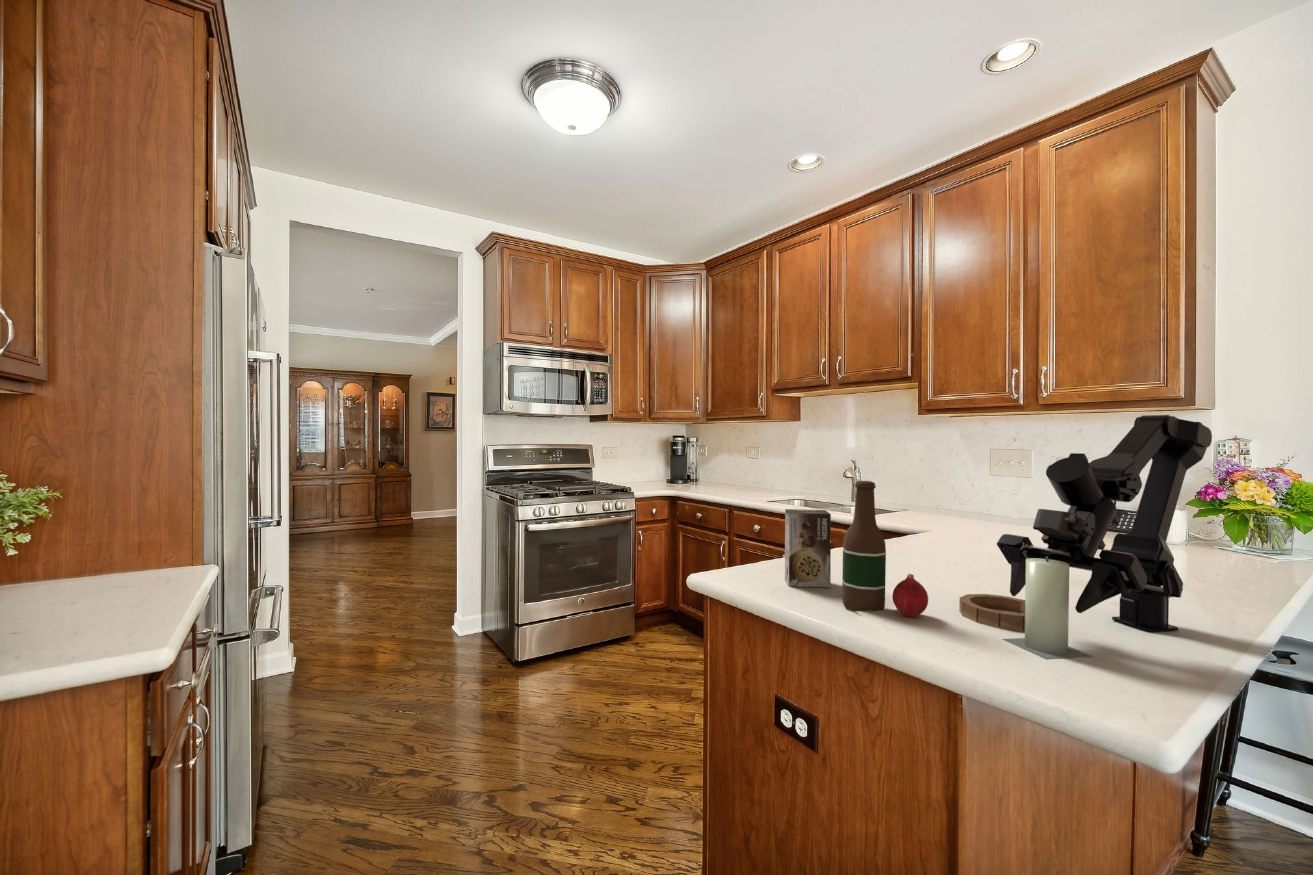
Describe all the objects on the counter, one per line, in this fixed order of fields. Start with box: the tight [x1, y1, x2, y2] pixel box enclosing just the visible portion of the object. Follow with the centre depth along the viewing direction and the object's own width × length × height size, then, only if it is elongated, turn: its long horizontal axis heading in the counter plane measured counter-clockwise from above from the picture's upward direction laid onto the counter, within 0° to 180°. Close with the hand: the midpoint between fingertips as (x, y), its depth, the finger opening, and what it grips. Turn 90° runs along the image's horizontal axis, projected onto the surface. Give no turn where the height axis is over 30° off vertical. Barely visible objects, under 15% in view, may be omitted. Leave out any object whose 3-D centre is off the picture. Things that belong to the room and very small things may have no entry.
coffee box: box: [784, 508, 832, 588], centre depth 121 cm, size 9×6×16 cm
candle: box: [1024, 557, 1070, 654], centre depth 84 cm, size 5×5×14 cm
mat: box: [1002, 637, 1094, 660], centre depth 84 cm, size 8×8×1 cm
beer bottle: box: [841, 480, 887, 612], centre depth 104 cm, size 8×8×24 cm
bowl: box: [958, 593, 1025, 632], centre depth 98 cm, size 13×13×3 cm
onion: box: [892, 573, 929, 618], centre depth 98 cm, size 6×6×8 cm
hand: (1043, 602), depth 83 cm, fingers open, 9 cm apart
